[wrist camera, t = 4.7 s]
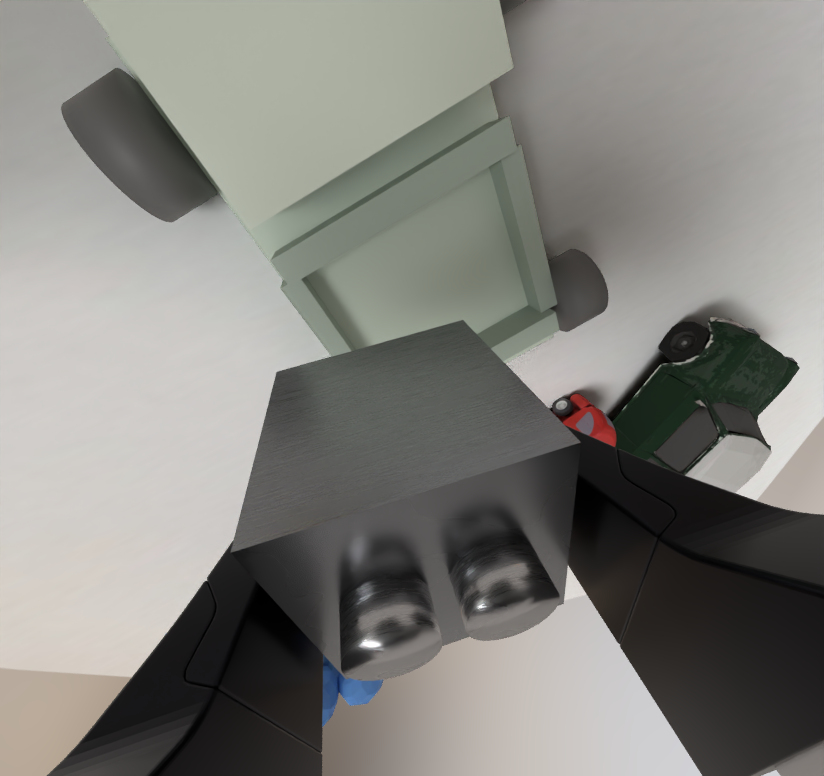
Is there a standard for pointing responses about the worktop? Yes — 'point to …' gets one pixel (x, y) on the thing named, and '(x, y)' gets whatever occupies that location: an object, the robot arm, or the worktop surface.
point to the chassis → (342, 158)
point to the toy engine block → (409, 501)
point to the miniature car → (706, 403)
